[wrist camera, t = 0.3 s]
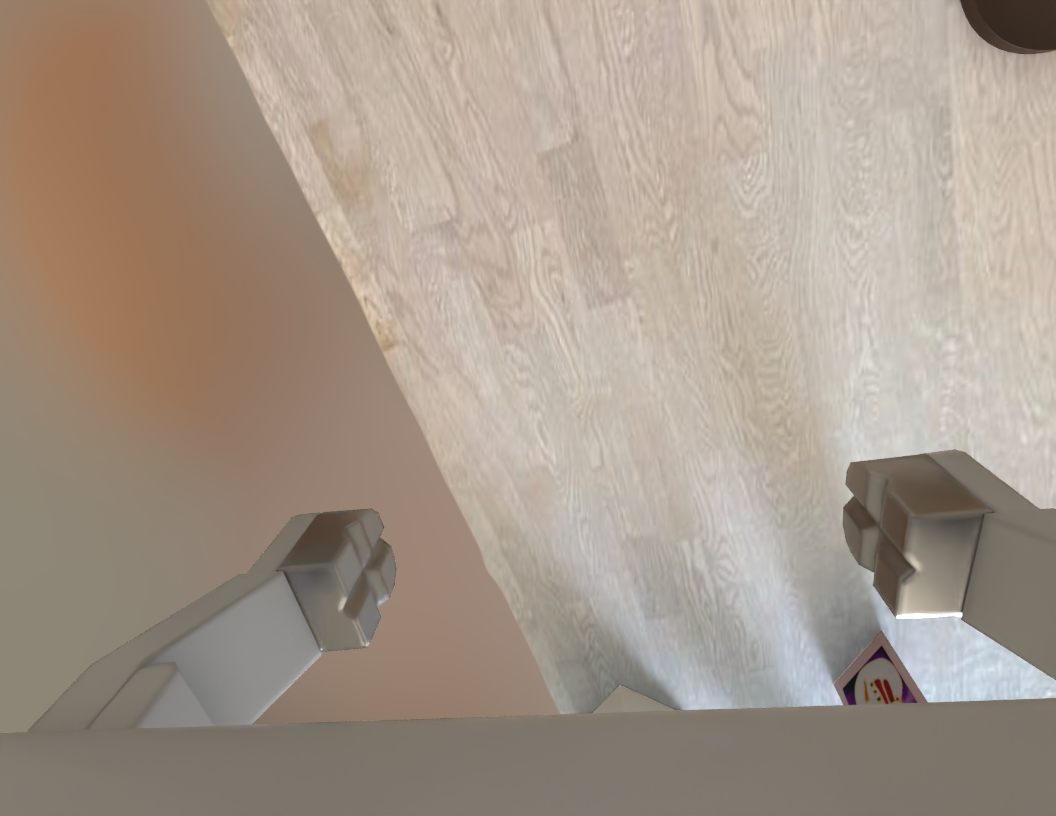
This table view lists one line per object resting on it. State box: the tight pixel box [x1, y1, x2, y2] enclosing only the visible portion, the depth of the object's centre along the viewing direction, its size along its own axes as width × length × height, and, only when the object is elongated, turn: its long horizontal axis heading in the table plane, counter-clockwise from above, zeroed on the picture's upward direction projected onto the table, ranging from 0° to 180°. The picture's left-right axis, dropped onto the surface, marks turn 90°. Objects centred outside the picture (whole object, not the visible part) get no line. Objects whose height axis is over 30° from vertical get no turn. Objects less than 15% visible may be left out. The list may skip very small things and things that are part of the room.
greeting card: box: [834, 631, 928, 705], centre depth 66 cm, size 11×7×15 cm, turn 162°
